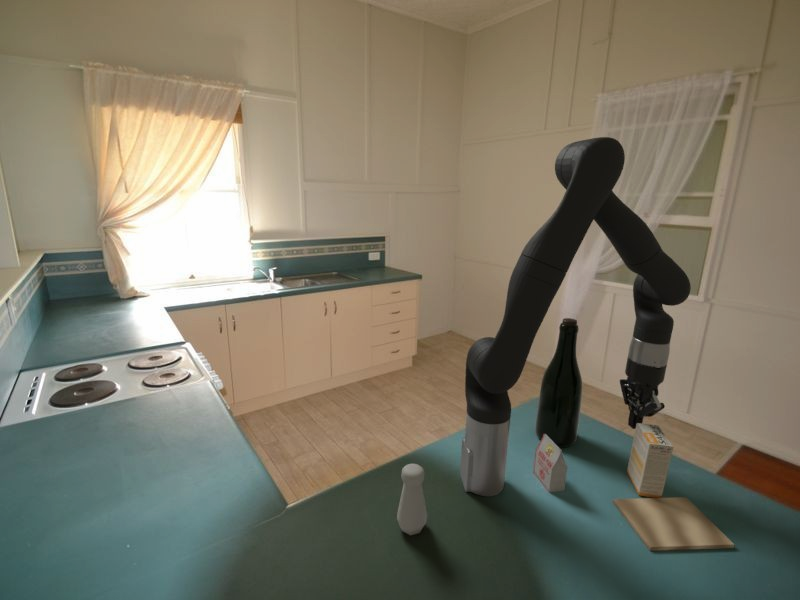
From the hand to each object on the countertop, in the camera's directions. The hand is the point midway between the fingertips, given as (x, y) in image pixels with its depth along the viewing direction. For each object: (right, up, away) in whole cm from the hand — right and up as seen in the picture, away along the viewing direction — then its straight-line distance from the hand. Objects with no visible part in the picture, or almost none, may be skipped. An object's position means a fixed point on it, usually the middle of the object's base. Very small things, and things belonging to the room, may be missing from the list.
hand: (634, 427), depth 94 cm
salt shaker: (-52, -14, -16) cm, 56 cm away
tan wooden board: (-1, -15, -14) cm, 20 cm away
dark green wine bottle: (-13, -7, +15) cm, 21 cm away
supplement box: (0, -12, -3) cm, 12 cm away
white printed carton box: (-21, -12, -2) cm, 24 cm away
